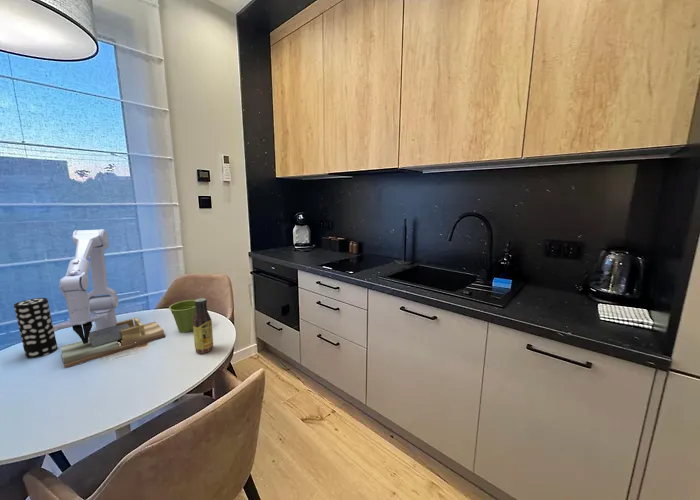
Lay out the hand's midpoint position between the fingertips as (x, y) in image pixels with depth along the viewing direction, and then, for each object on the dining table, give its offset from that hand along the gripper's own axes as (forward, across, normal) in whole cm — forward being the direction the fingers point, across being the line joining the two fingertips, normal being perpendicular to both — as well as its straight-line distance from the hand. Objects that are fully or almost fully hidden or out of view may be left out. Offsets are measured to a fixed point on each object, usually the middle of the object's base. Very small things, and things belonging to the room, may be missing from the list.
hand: (85, 342), depth 108 cm
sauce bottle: (+5, +30, -30) cm, 43 cm away
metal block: (+1, +7, 0) cm, 7 cm away
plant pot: (+5, +32, -6) cm, 33 cm away
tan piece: (+4, +8, 0) cm, 10 cm away
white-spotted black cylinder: (+5, -12, +14) cm, 19 cm away
